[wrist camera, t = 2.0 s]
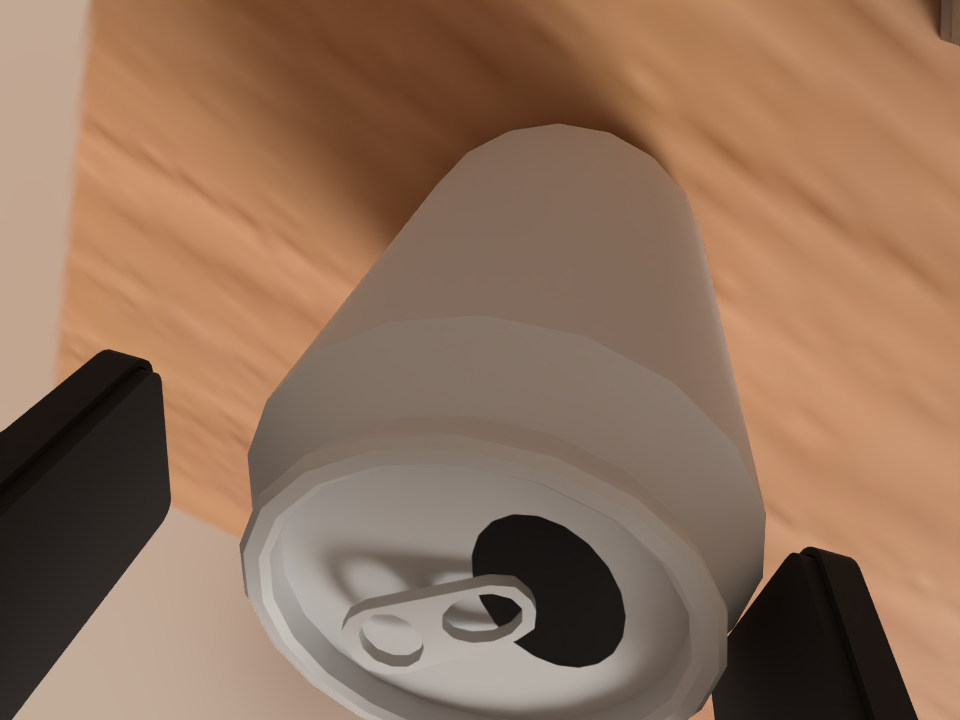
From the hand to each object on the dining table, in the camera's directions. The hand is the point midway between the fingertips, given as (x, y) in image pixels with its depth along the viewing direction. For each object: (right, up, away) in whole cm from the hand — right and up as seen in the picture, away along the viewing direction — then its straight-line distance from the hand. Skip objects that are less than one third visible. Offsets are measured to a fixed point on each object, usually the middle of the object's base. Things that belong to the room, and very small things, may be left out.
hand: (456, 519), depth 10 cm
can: (+3, +5, +8) cm, 10 cm away
